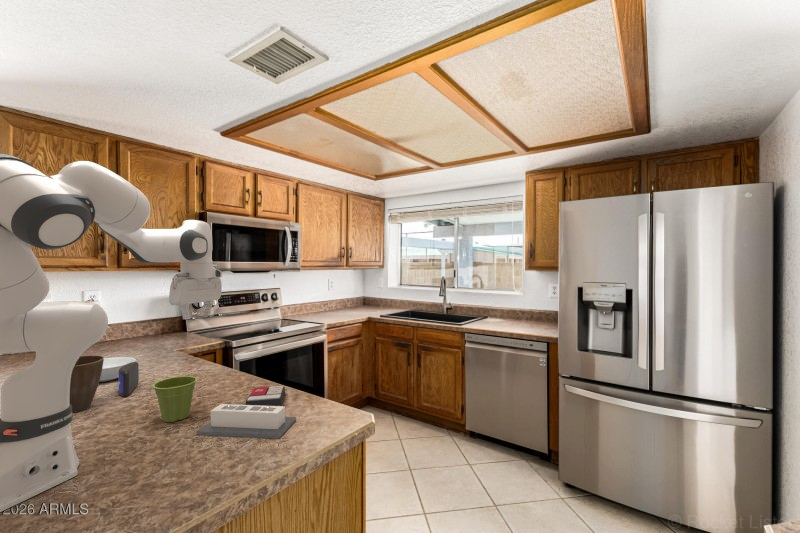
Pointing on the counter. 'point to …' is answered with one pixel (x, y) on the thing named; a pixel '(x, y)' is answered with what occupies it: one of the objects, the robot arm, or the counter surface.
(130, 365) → the dark grey slab
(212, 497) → the counter surface
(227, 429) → the mounting plate
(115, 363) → the serving bowl
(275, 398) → the calculator
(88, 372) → the plant pot
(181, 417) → the plant pot
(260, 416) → the power strip
